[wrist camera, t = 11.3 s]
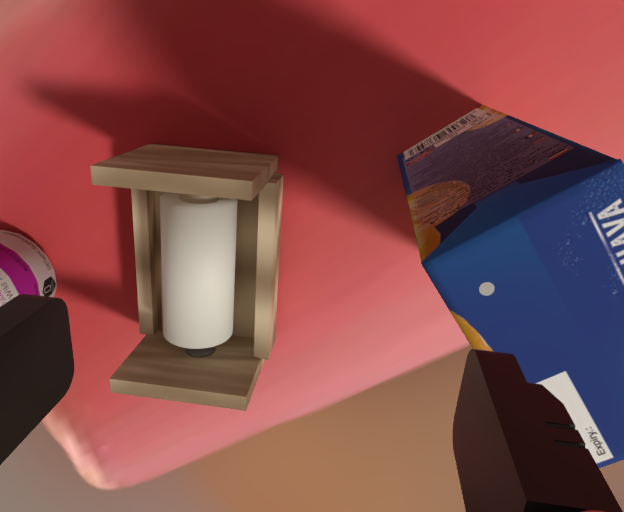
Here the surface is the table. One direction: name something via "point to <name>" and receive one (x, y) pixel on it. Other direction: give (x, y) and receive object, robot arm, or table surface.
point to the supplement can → (23, 268)
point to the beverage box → (529, 257)
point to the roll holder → (248, 271)
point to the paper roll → (197, 268)
